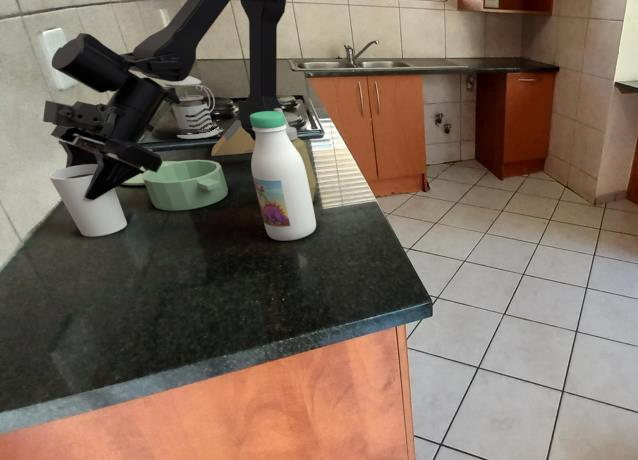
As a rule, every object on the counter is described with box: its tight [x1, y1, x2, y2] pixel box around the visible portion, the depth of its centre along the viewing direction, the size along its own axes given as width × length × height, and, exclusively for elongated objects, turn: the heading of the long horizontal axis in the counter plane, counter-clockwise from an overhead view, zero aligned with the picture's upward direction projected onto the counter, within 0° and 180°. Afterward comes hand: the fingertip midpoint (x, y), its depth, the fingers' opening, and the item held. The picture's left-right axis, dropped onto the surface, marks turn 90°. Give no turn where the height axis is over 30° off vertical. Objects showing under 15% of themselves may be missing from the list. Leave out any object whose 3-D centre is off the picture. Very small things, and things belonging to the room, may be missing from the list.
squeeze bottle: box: [274, 108, 317, 202], centre depth 79 cm, size 8×8×18 cm
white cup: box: [48, 164, 128, 237], centre depth 68 cm, size 7×7×10 cm
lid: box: [121, 148, 178, 186], centre depth 89 cm, size 13×13×6 cm
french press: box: [163, 75, 220, 140], centre depth 113 cm, size 10×12×25 cm
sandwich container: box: [211, 118, 255, 157], centre depth 106 cm, size 9×15×15 cm, turn 118°
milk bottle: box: [250, 111, 317, 242], centre depth 68 cm, size 8×8×20 cm
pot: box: [142, 159, 229, 212], centre depth 81 cm, size 12×17×6 cm
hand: (77, 194), depth 66 cm, fingers closed on white cup, 6 cm apart
